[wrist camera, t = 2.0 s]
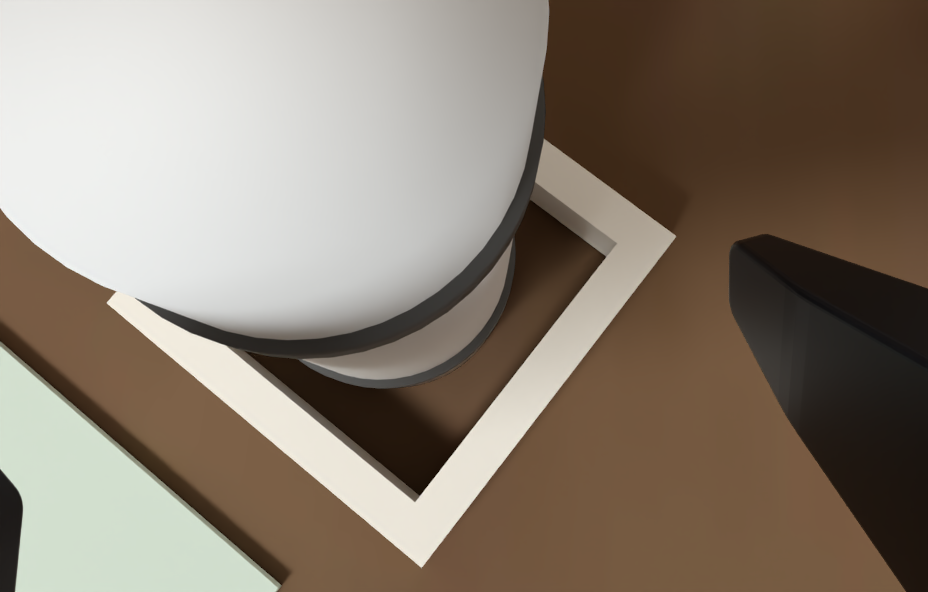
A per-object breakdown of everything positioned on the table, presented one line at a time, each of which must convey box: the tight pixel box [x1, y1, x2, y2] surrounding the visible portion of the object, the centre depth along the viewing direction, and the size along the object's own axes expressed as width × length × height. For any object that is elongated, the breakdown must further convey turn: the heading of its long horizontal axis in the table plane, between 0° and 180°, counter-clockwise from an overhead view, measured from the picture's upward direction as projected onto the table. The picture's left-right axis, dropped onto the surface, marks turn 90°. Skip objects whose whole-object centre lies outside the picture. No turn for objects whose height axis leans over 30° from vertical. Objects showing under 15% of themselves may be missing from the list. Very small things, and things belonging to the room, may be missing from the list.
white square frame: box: [107, 139, 676, 568], centre depth 19 cm, size 10×10×2 cm
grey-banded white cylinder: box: [0, 0, 549, 389], centre depth 13 cm, size 6×6×13 cm
